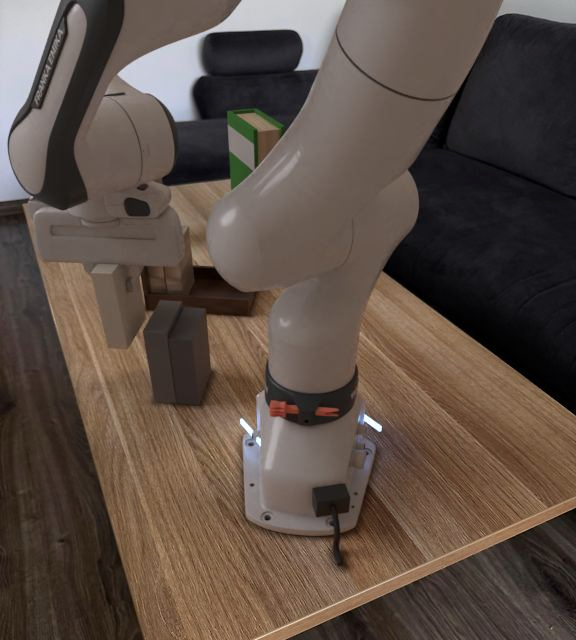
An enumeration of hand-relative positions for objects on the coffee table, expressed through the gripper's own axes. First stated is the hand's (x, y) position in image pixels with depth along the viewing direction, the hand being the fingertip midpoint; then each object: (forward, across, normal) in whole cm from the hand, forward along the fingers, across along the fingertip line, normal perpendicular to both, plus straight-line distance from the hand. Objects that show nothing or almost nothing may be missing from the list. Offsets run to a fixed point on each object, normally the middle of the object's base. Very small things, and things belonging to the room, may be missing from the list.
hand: (119, 290), depth 85 cm
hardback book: (+16, +9, +70) cm, 72 cm away
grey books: (+17, +7, 0) cm, 19 cm away
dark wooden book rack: (+17, +4, +30) cm, 34 cm away
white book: (+7, 0, 0) cm, 7 cm away
